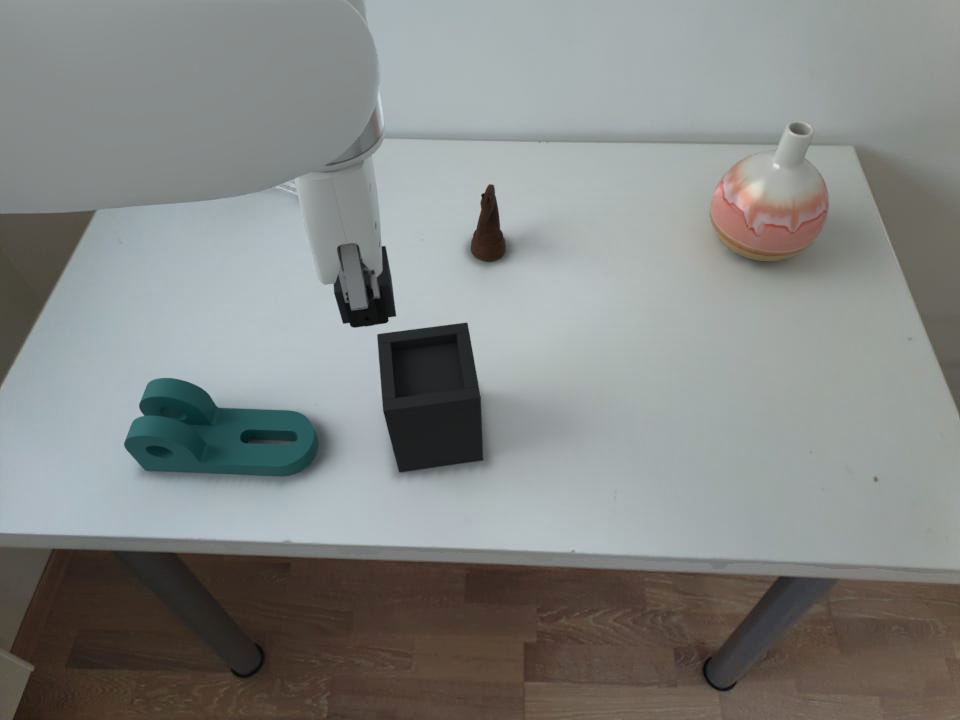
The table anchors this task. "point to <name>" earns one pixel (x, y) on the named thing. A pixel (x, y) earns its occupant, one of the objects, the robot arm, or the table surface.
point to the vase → (772, 200)
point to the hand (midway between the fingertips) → (367, 297)
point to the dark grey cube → (383, 282)
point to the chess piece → (488, 230)
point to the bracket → (215, 434)
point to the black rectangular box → (431, 396)
